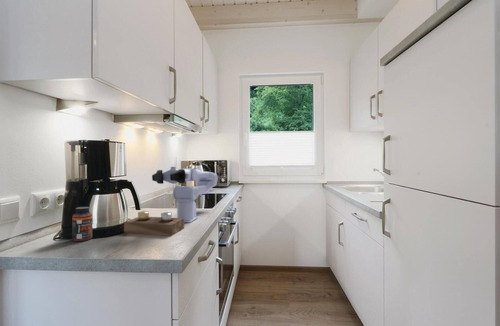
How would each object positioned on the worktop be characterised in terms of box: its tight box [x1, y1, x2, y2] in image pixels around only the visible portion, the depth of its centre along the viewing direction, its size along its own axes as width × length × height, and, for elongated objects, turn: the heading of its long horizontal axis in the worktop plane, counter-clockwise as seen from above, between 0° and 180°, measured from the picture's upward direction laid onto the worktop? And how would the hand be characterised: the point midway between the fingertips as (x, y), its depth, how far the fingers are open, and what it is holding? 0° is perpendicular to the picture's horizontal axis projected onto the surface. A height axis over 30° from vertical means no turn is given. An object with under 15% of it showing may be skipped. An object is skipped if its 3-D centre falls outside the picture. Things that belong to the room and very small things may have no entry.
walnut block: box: [123, 216, 185, 236], centre depth 103 cm, size 10×20×4 cm, turn 79°
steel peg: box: [160, 211, 173, 223], centre depth 102 cm, size 4×4×4 cm
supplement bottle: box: [71, 206, 93, 242], centre depth 91 cm, size 6×6×11 cm
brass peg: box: [137, 210, 150, 221], centre depth 103 cm, size 4×4×4 cm
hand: (162, 177), depth 99 cm, fingers open, 7 cm apart
